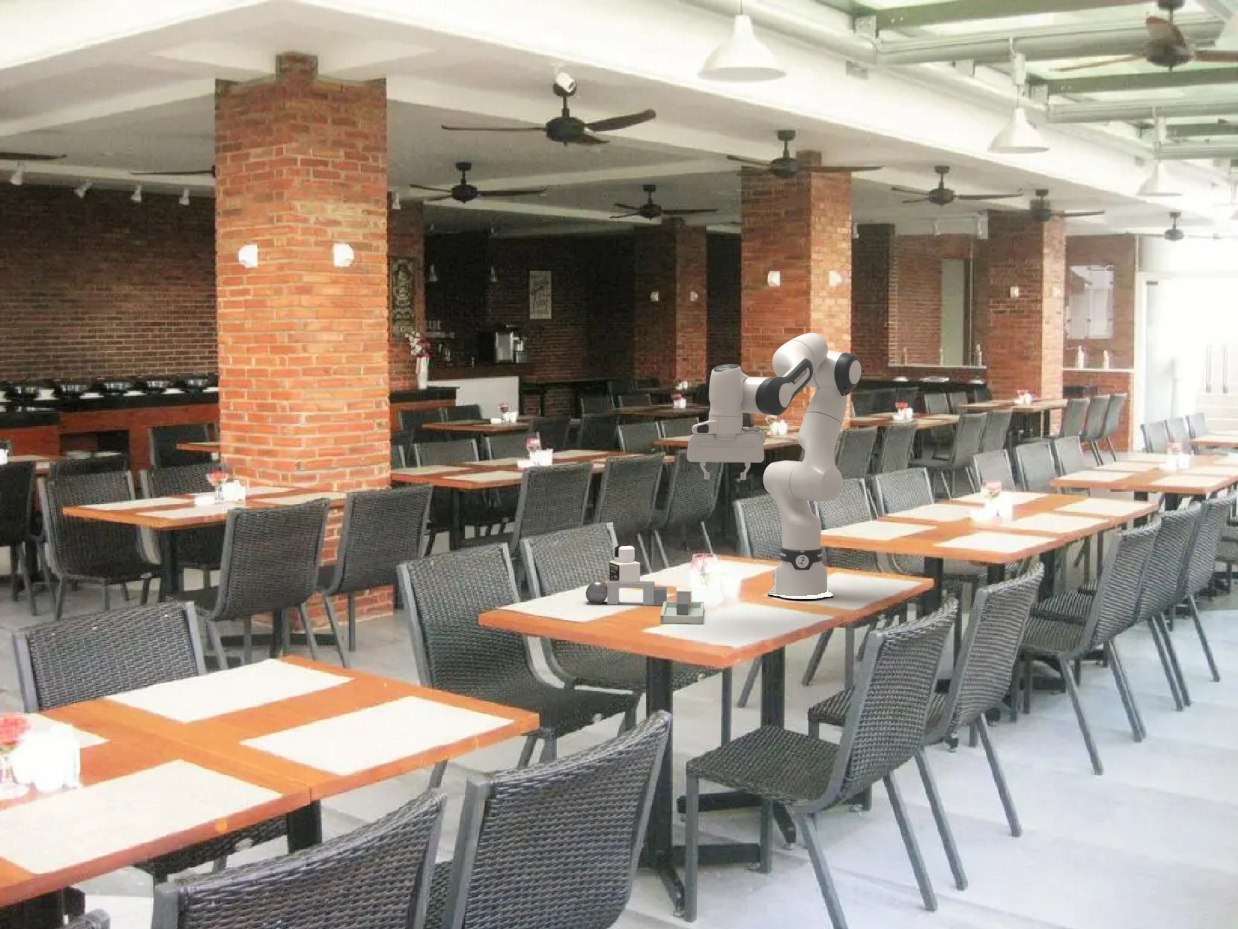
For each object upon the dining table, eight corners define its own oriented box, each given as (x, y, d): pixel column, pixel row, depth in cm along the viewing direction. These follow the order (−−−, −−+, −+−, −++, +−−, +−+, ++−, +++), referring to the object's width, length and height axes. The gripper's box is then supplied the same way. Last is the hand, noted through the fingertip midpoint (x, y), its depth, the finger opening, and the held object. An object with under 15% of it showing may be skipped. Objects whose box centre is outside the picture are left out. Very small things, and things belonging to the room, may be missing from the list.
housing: (587, 601, 376) (587, 580, 376) (667, 602, 374) (667, 581, 374) (585, 604, 371) (585, 583, 371) (666, 605, 370) (666, 584, 369)
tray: (663, 608, 366) (663, 601, 366) (703, 609, 365) (703, 601, 365) (660, 623, 346) (660, 615, 346) (702, 624, 345) (702, 616, 345)
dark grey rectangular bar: (676, 600, 366) (676, 586, 365) (691, 601, 365) (691, 587, 365) (674, 617, 352) (674, 602, 351) (689, 617, 352) (689, 602, 351)
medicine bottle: (608, 584, 404) (609, 544, 403) (630, 582, 407) (630, 543, 406) (618, 587, 397) (618, 548, 396) (640, 586, 400) (640, 546, 399)
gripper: (765, 426, 350) (764, 478, 351) (687, 425, 351) (687, 477, 353) (766, 427, 343) (765, 481, 345) (686, 427, 345) (686, 480, 346)
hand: (725, 479), depth 349 cm, fingers open, 8 cm apart
